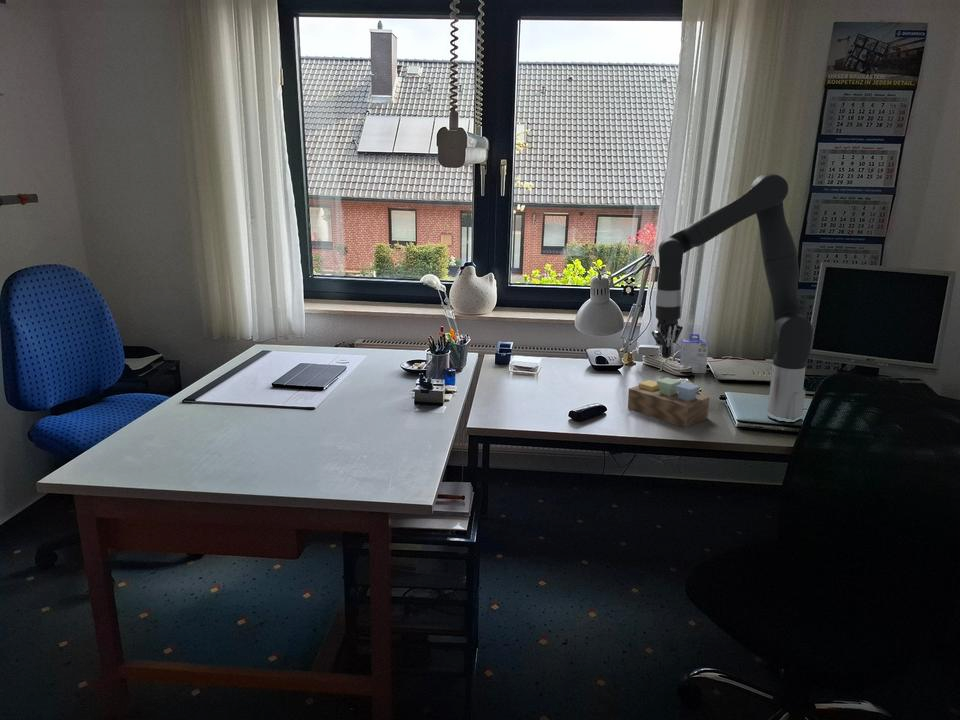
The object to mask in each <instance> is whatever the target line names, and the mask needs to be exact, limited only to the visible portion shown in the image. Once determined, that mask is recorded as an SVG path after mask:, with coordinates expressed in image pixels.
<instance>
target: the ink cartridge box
mask: <svg viewBox="0 0 960 720" xmlns="http://www.w3.org/2000/svg"><path fill="white" fill-rule="evenodd" d="M708 348H709V342H708V340H707V339H701V337H700V334H697V333H689V339H680V353H679V356H680V357H679V366H680V365H688V366H691V368H692V371H693V372H692V374H706V373H707V363H708V362H707V361H708V352H709V351H708Z"/></svg>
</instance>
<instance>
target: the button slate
mask: <svg viewBox="0 0 960 720" xmlns="http://www.w3.org/2000/svg"><path fill="white" fill-rule="evenodd" d="M675 391H679V392H678V399H681V400H685V401H688V402H689V401H692V400H695V399H696V394H697V393H698V392H701V386H700V385H697V384H693V383H689V382H683V383H681V384H680V385H677V386H676V388H675Z"/></svg>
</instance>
